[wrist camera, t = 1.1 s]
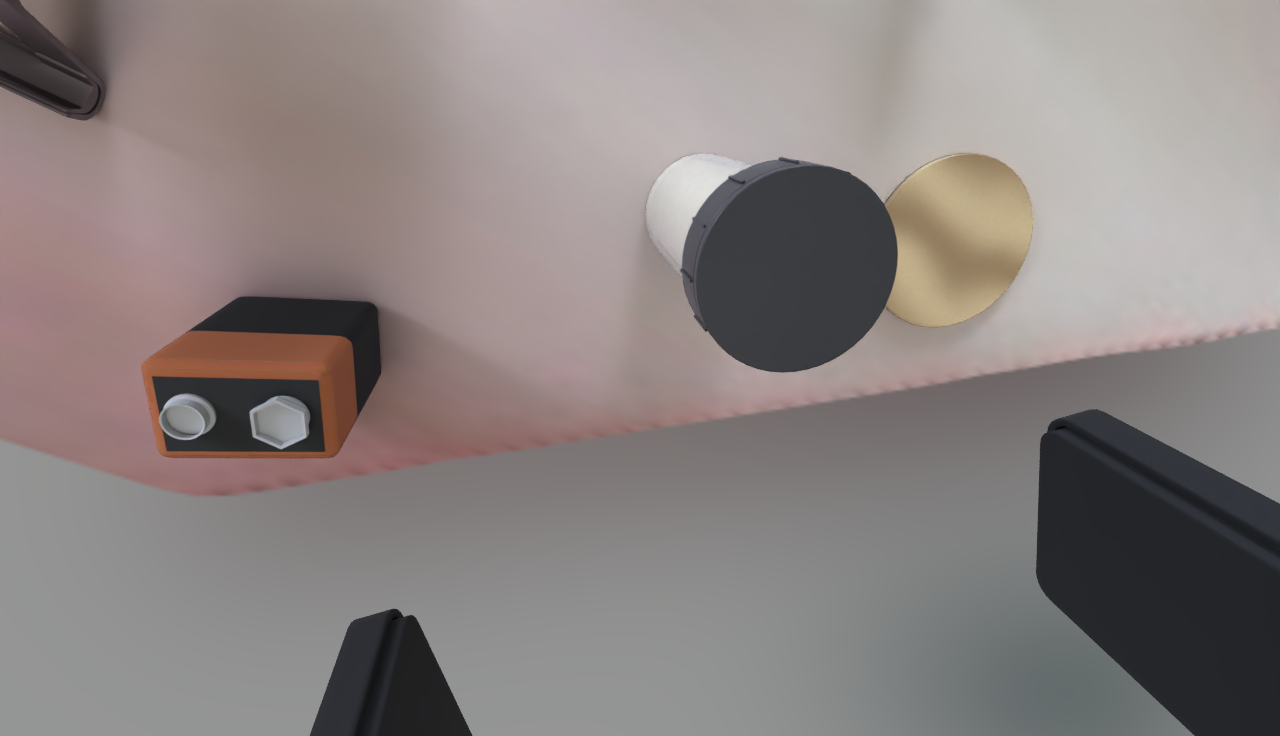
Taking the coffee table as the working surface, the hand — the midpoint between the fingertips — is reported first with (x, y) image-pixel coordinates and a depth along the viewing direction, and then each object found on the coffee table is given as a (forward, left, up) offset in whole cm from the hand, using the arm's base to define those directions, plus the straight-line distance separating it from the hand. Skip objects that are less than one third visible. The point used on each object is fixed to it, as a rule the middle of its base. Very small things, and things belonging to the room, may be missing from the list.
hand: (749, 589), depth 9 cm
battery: (+8, -13, -27) cm, 31 cm away
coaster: (-3, +21, -27) cm, 34 cm away
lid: (-2, +6, -14) cm, 15 cm away
